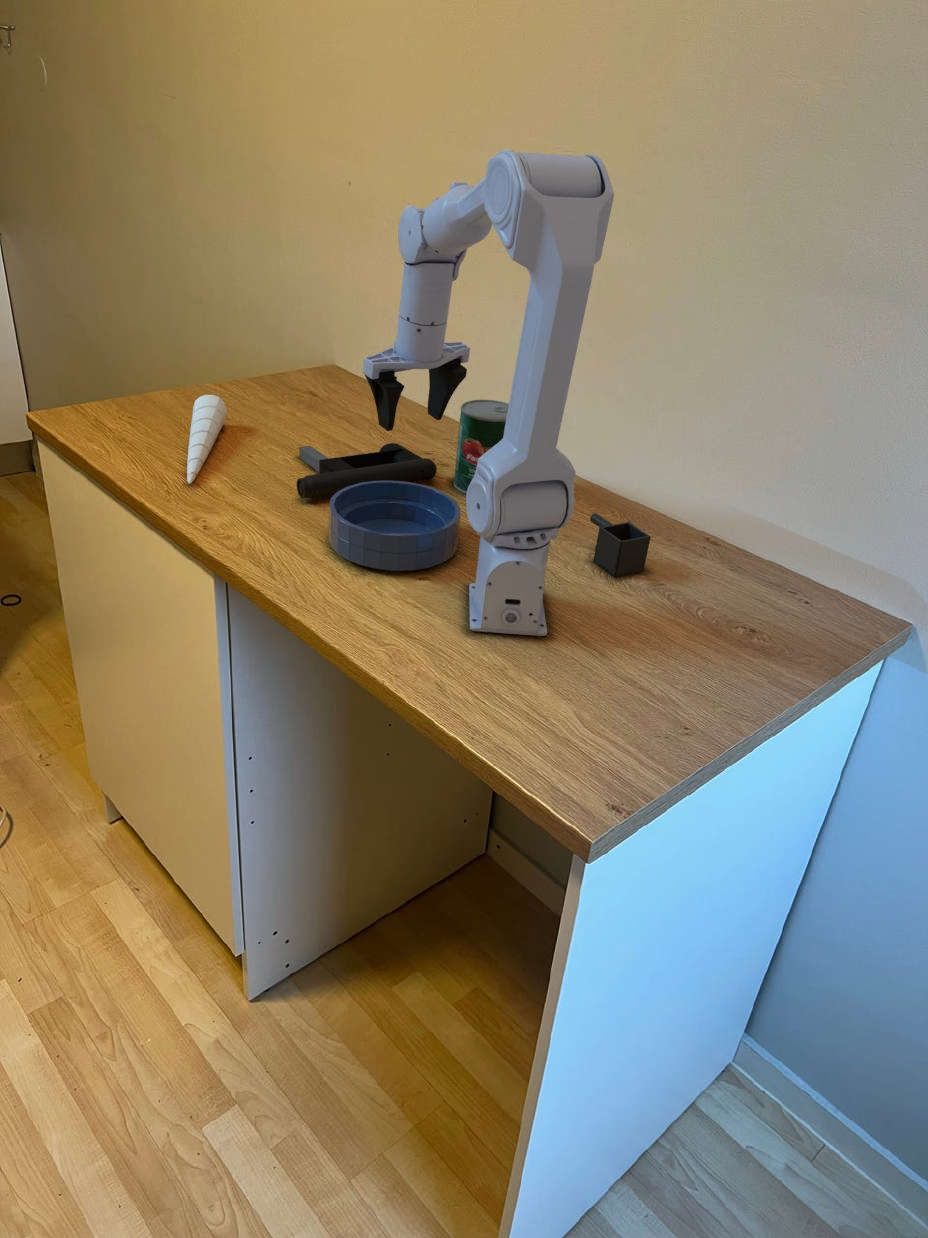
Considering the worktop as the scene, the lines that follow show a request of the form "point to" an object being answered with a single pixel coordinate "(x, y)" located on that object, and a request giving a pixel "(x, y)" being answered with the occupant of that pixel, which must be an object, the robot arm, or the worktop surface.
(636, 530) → the scoop
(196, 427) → the unicorn horn
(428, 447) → the worktop surface
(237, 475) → the worktop surface
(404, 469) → the door handle
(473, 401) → the canned tomato
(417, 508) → the bowl
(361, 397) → the worktop surface
